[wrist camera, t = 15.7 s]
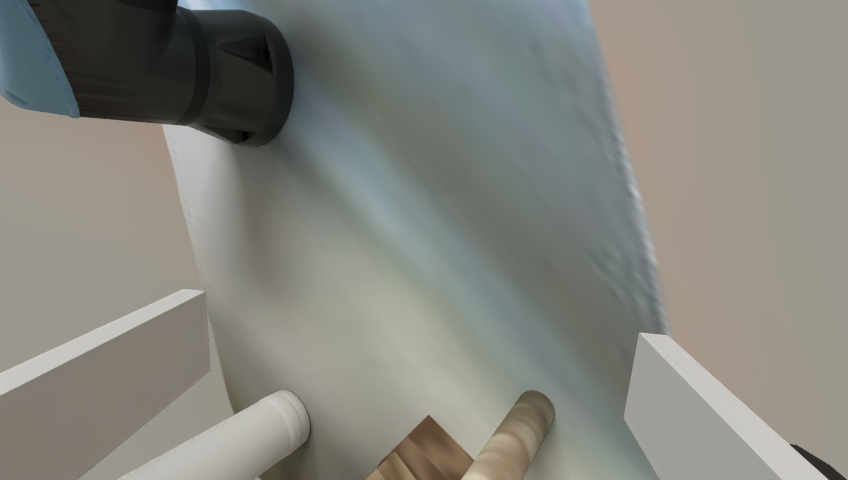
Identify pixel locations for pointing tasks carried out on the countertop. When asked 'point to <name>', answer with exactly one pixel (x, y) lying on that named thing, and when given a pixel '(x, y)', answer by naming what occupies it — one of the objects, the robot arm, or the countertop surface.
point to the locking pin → (514, 440)
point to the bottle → (235, 444)
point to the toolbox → (432, 453)
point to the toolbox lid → (392, 470)
